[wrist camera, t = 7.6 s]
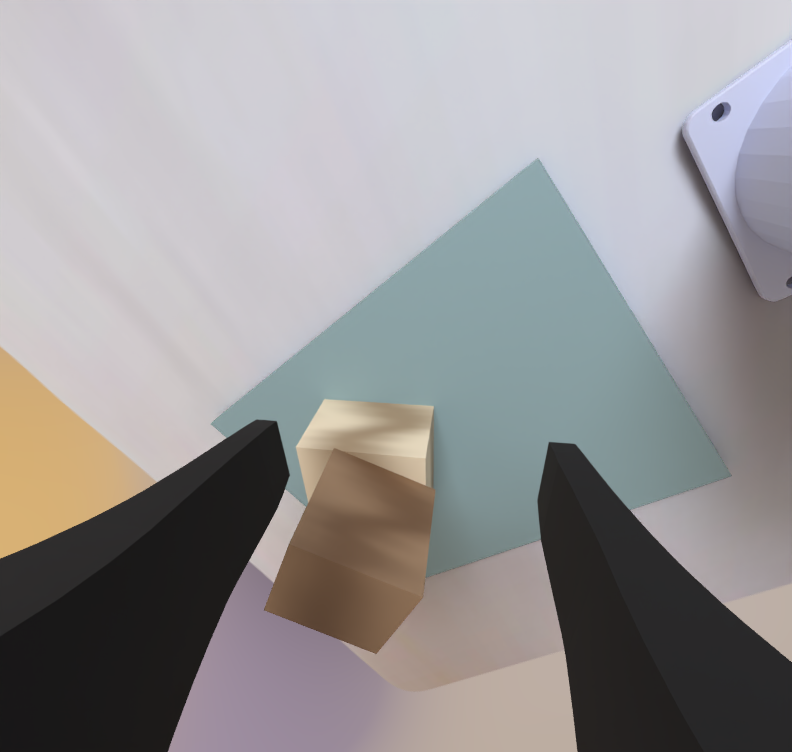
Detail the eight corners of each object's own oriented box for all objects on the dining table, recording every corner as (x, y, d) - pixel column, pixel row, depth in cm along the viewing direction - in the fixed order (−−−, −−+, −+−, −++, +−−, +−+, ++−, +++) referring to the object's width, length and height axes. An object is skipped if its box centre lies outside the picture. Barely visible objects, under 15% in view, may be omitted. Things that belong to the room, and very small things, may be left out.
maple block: (433, 406, 20) (425, 458, 17) (433, 488, 23) (426, 547, 20) (324, 399, 21) (295, 447, 18) (337, 479, 24) (315, 532, 21)
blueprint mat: (537, 158, 14) (538, 158, 14) (727, 470, 20) (731, 476, 19) (214, 419, 24) (210, 423, 24) (399, 581, 30) (398, 586, 29)
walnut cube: (435, 489, 18) (423, 597, 14) (396, 548, 20) (376, 654, 16) (334, 447, 18) (289, 544, 13) (308, 512, 20) (263, 610, 16)
